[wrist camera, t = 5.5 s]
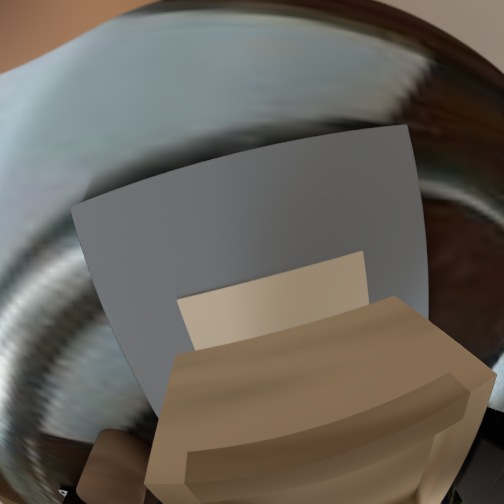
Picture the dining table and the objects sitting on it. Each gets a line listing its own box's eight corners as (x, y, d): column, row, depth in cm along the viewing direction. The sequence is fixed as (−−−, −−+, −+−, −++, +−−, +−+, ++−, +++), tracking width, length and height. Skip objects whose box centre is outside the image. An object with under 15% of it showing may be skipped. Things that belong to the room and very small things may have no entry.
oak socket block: (390, 433, 10) (436, 509, 6) (236, 476, 10) (243, 567, 5) (394, 295, 9) (497, 374, 4) (176, 354, 8) (143, 484, 4)
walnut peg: (162, 464, 16) (153, 521, 11) (115, 464, 16) (100, 515, 11) (136, 428, 15) (117, 489, 10) (87, 429, 15) (63, 482, 10)
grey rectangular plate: (411, 411, 16) (418, 421, 15) (201, 470, 16) (200, 481, 15) (395, 127, 12) (407, 123, 11) (80, 205, 12) (68, 207, 11)
